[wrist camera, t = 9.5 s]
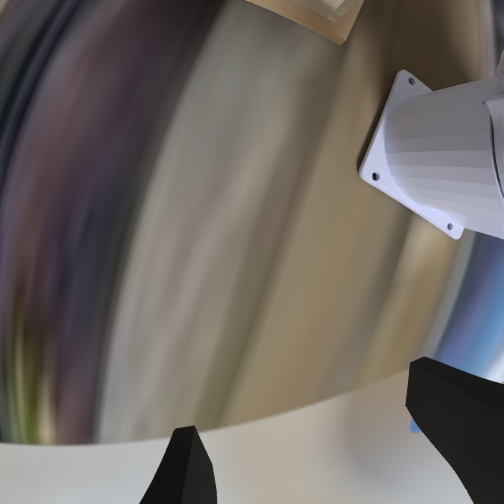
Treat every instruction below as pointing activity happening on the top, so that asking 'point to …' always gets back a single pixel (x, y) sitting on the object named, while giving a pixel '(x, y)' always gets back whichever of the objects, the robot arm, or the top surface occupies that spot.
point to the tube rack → (318, 15)
